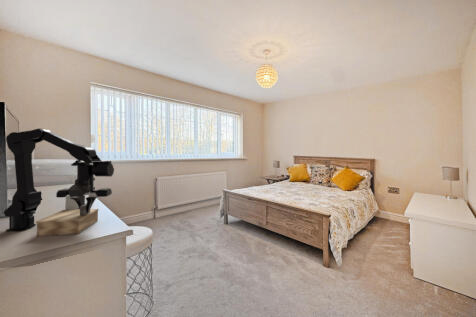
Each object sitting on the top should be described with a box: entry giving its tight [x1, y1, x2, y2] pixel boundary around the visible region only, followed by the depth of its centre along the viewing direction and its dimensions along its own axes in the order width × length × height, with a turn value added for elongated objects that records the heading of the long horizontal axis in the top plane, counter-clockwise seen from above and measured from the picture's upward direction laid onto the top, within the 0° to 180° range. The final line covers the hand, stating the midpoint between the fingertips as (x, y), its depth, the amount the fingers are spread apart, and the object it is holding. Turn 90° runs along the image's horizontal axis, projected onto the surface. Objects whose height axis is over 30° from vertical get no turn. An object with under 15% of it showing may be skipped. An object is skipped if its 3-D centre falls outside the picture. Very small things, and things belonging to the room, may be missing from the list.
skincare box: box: [64, 195, 79, 210], centre depth 98 cm, size 6×4×12 cm
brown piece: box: [36, 210, 99, 237], centre depth 88 cm, size 14×16×5 cm
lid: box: [35, 202, 100, 224], centre depth 87 cm, size 14×16×5 cm
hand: (85, 212), depth 89 cm, fingers closed on lid, 2 cm apart
